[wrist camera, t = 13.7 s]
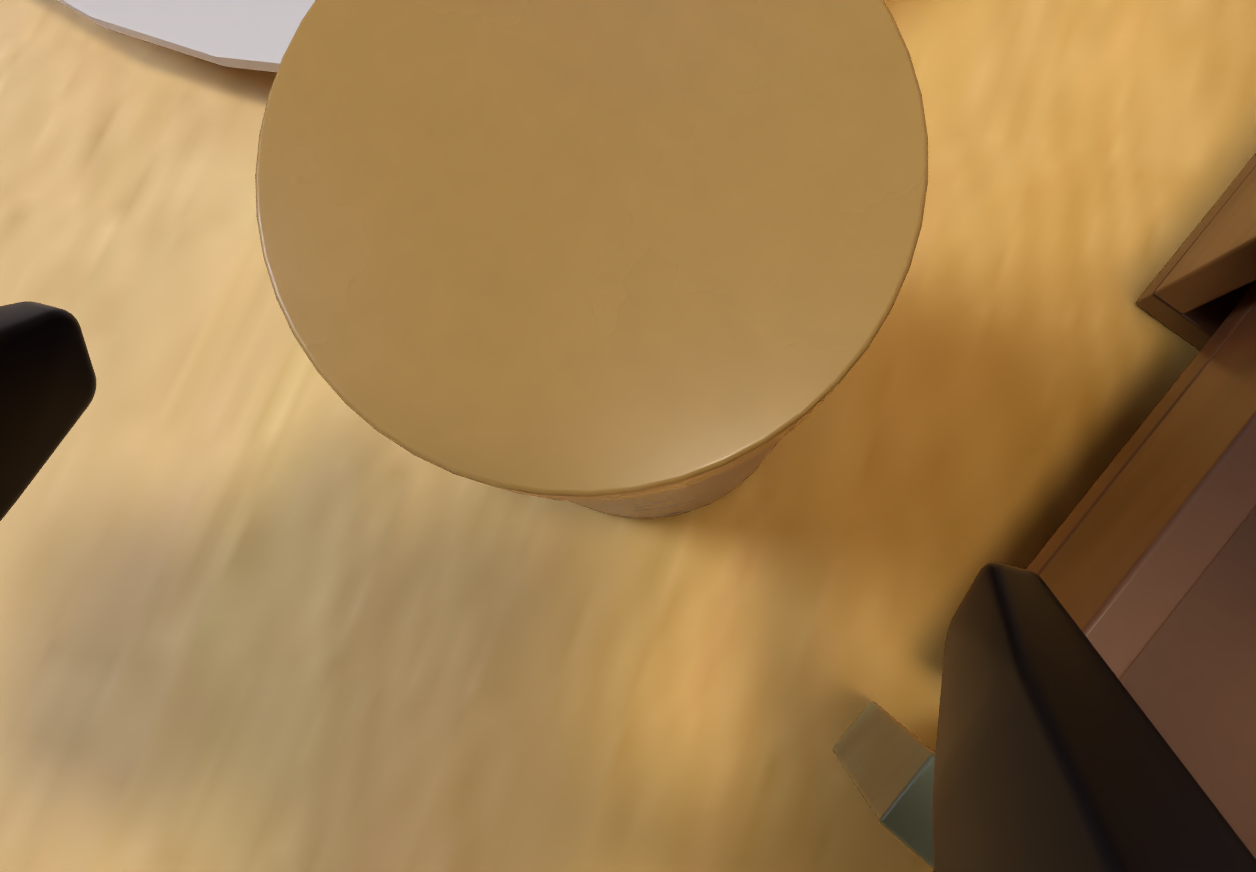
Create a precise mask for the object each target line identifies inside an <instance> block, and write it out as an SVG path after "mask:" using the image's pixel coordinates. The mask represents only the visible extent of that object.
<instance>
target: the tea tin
mask: <svg viewBox="0 0 1256 872" xmlns="http://www.w3.org/2000/svg"><path fill="white" fill-rule="evenodd" d="M255 179H256V209H257V221H258V227H259V233H260V239H261V244H262V250H263V256H264V260H265V264H266V267H267V270H268V273H269V276H270V279H271V283H272V286H273V289H274V292H275V295H276V299H277V301H278V303H279V305H280V307H281V309H282V311H283V313H284V315H285V318H286V320H287V322H288V324H289V326H290V328H291V330H292V332H293V335H294V336H295V338H296V340H297V341H298V343H299V344H300V346H301V347H302V349H303V350H304V352H305V353H306V355H307V356H308V358H309V359H310V361H311V362H312V364H313V365H314V367H315V369H316V370H317V371H318V373H319V374H320V375H321V376H322V377H323V378H324V380H325V381H326V382H327V383H328V384H329V385H330V386H331V388H332V389H333V390H334V391H335V392H336V393H337V394H338V396H339V397H340V398H341V399H342V400H343V401H344V402H345V403H346V404H347V405H348V406H349V407H350V408H351V409H352V410H354V411H355V412H356V413H357V414H358V415H359V416H361V417H362V418H363V419H364V420H365V421H366V422H367V423H369V424H370V425H371V426H372V427H373V428H374V429H376V430H377V431H378V432H379V433H381V434H383V435H384V436H386V437H387V438H389V439H390V440H392V441H393V442H395V443H396V444H398V445H399V446H401V447H403V448H404V449H406V450H407V451H409V452H410V453H412V454H413V455H415V456H417V457H419V458H421V459H424V460H426V461H428V462H430V463H432V464H434V465H436V466H438V467H441V468H443V469H445V470H447V471H449V472H451V473H453V474H456V475H459V476H462V477H466V478H469V479H472V480H475V481H478V482H481V483H485V484H488V485H491V486H494V487H497V488H501V489H504V490H508V491H511V492H515V493H519V494H525V495H531V496H537V497H542V498H548V499H554V500H567V501H570V502H573V503H576V504H579V505H582V506H585V507H588V508H591V509H594V510H597V511H600V512H604V513H607V514H611V515H616V516H622V517H628V518H658V517H668V516H673V515H677V514H681V513H686V512H689V511H692V510H695V509H697V508H700V507H703V506H705V505H708V504H709V503H711V502H713V501H715V500H717V499H719V498H721V497H723V496H724V495H726V494H727V493H729V492H730V491H731V490H733V489H734V488H736V487H737V486H738V485H740V484H741V483H742V482H743V481H744V480H745V479H746V478H748V477H749V476H750V475H751V474H752V473H753V472H754V471H755V470H756V469H757V467H758V466H759V465H760V464H761V463H762V461H763V460H764V459H765V458H766V456H767V455H768V454H769V453H770V452H771V450H772V449H773V448H774V447H775V445H776V444H777V443H778V442H779V440H780V439H781V438H782V437H783V436H784V435H786V434H787V433H788V432H790V431H791V430H793V429H794V428H795V427H796V426H797V425H798V424H799V423H800V422H801V421H802V420H803V419H804V418H806V417H807V416H808V415H809V414H810V413H811V412H812V411H813V410H814V409H815V408H816V407H817V406H818V405H819V404H821V403H822V402H823V401H824V400H825V398H826V397H827V396H828V395H829V394H830V393H831V392H832V391H833V389H834V388H835V387H836V386H837V385H838V384H839V383H840V381H841V380H842V379H843V378H844V376H845V375H846V374H847V373H848V372H849V370H850V369H851V368H852V367H853V365H854V364H855V363H856V362H857V361H858V359H859V358H860V357H861V356H862V354H863V353H864V352H865V351H866V350H867V348H868V347H869V345H870V343H871V342H872V340H873V339H874V337H875V335H876V334H877V332H878V330H879V329H880V327H881V326H882V324H883V322H884V321H885V319H886V317H887V316H888V314H889V313H890V311H891V309H892V307H893V305H894V302H895V300H896V298H897V296H898V293H899V291H900V289H901V287H902V284H903V282H904V280H905V277H906V275H907V273H908V271H909V268H910V265H911V261H912V258H913V254H914V251H915V247H916V244H917V240H918V237H919V233H920V230H921V226H922V220H923V213H924V206H925V199H926V192H927V185H928V136H927V129H926V122H925V115H924V108H923V101H922V95H921V91H920V88H919V85H918V81H917V78H916V74H915V71H914V67H913V64H912V61H911V57H910V54H909V51H908V49H907V47H906V45H905V43H904V40H903V38H902V36H901V34H900V32H899V29H898V27H897V25H896V23H895V20H894V18H893V16H892V14H891V12H890V11H889V9H888V8H887V6H886V4H885V3H884V1H883V0H315V2H314V3H313V5H312V6H311V7H310V9H309V10H308V12H307V13H306V15H305V16H304V18H303V19H302V21H301V23H300V25H299V27H298V28H297V30H296V32H295V34H294V36H293V38H292V40H291V42H290V44H289V46H288V48H287V50H286V52H285V53H284V55H283V58H282V60H281V63H280V66H279V68H278V71H277V74H276V77H275V79H274V82H273V85H272V87H271V90H270V93H269V96H268V100H267V104H266V109H265V113H264V117H263V122H262V126H261V130H260V134H259V144H258V154H257V164H256V174H255Z"/></svg>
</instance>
